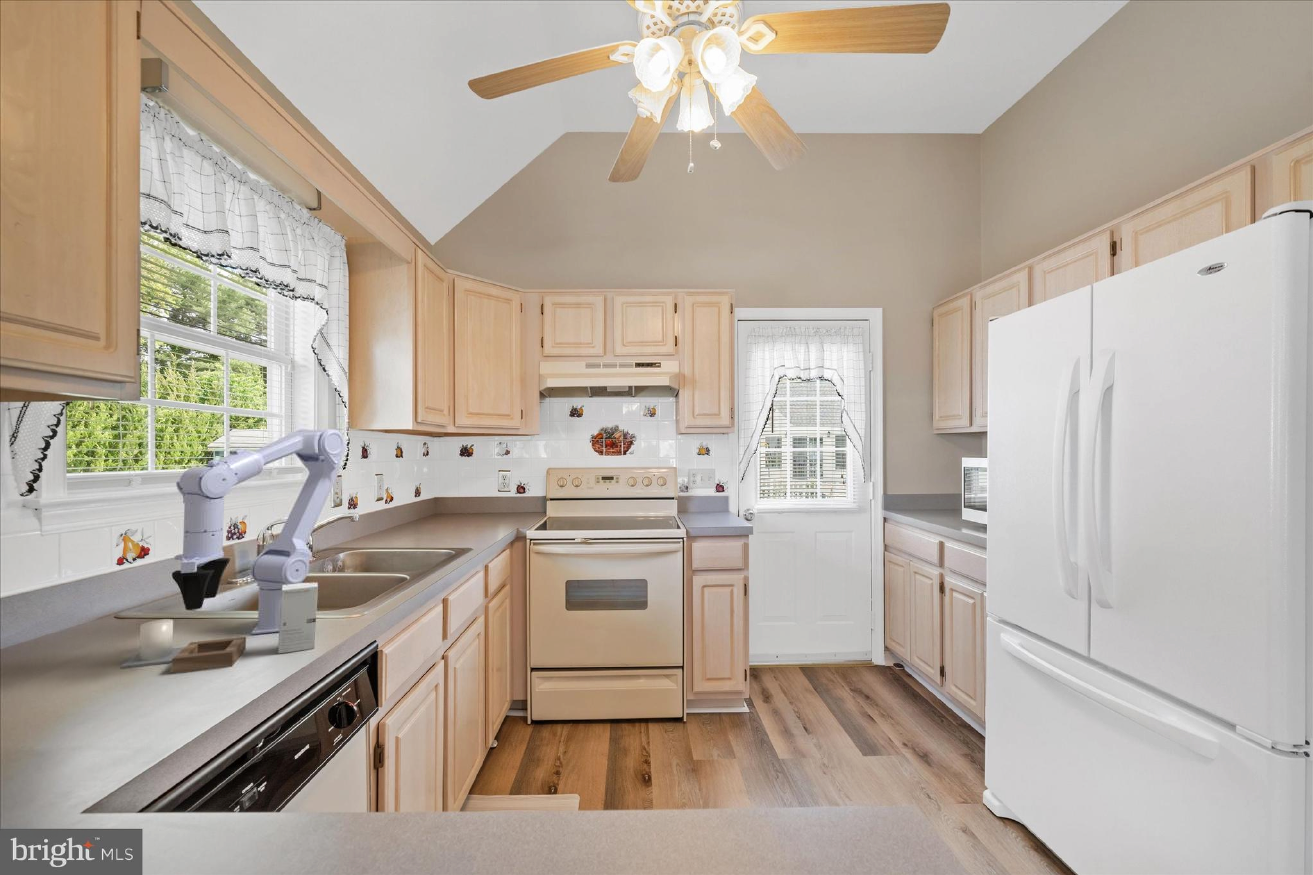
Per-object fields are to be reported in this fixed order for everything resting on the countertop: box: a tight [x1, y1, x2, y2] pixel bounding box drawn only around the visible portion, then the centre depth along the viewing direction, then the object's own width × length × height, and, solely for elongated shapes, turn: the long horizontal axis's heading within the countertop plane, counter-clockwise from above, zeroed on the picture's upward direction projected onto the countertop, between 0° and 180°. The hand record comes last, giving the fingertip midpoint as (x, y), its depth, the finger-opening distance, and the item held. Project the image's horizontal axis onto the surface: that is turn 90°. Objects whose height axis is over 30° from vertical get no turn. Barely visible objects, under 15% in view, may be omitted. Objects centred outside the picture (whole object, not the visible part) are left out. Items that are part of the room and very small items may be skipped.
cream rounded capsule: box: [139, 618, 174, 661], centre depth 99 cm, size 4×4×6 cm
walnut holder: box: [171, 636, 247, 675], centre depth 98 cm, size 8×8×2 cm
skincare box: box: [277, 581, 319, 654], centre depth 105 cm, size 6×4×12 cm
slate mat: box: [120, 646, 186, 669], centre depth 99 cm, size 7×7×1 cm
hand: (201, 603), depth 102 cm, fingers open, 7 cm apart
